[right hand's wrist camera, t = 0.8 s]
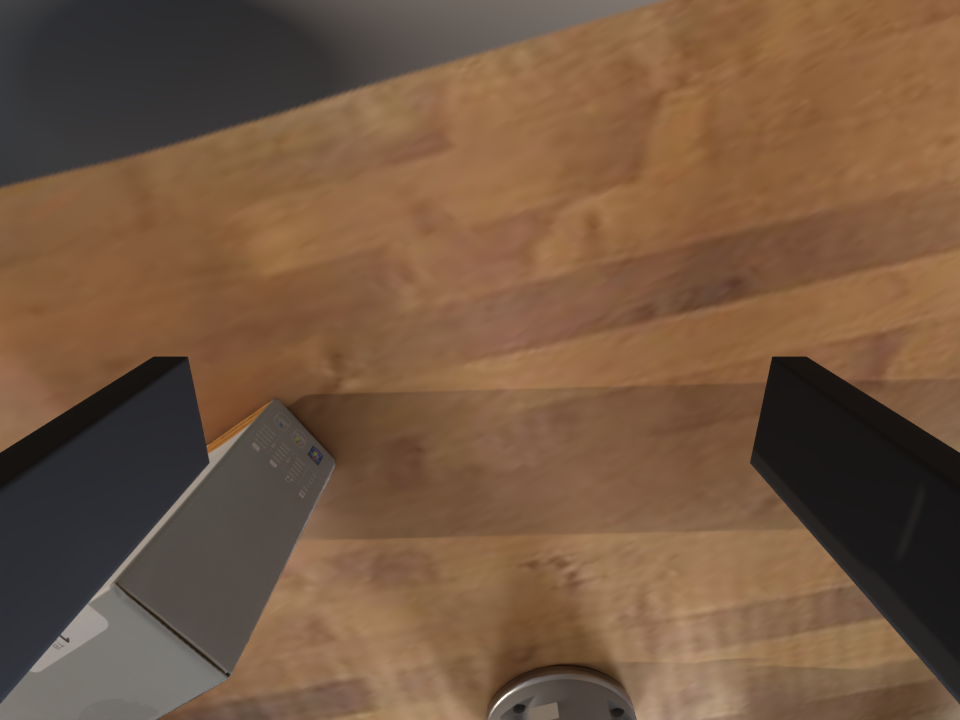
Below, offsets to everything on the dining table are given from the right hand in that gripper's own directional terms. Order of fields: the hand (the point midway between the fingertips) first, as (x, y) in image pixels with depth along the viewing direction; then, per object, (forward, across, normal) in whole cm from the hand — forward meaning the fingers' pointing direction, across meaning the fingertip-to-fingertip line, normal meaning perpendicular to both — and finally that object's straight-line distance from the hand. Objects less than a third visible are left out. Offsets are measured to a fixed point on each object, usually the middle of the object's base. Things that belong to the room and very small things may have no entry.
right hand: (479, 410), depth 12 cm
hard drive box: (+28, +20, +20) cm, 40 cm away
